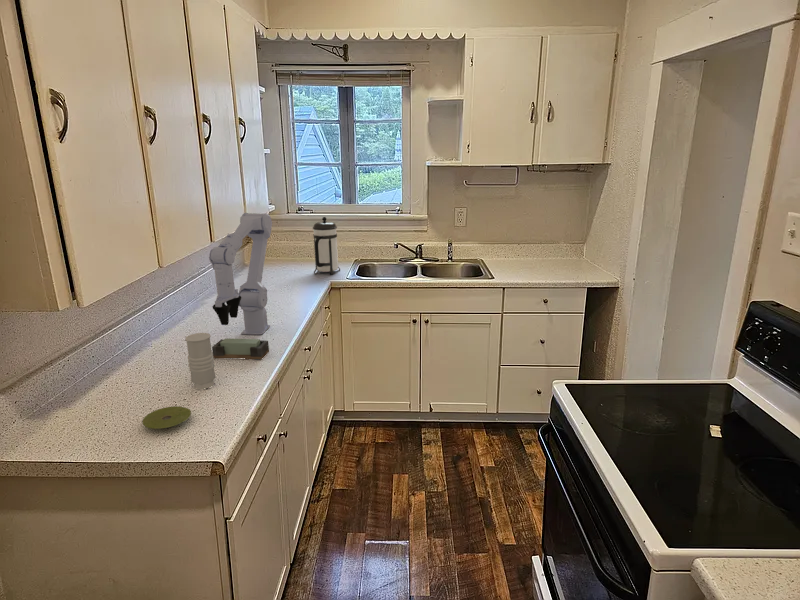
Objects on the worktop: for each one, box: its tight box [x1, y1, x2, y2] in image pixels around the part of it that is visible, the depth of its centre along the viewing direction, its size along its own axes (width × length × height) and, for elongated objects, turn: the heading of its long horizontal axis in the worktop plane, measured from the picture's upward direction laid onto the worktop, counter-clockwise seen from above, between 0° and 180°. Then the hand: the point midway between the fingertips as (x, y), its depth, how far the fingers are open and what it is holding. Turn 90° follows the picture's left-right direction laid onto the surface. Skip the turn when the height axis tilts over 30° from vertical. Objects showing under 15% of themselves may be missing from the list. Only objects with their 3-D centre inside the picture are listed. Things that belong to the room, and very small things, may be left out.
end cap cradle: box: [211, 339, 270, 360], centre depth 175 cm, size 7×16×4 cm, turn 84°
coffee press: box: [312, 216, 341, 276], centre depth 282 cm, size 17×16×30 cm
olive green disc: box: [142, 405, 192, 430], centre depth 133 cm, size 11×11×2 cm
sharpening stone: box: [220, 337, 261, 355], centre depth 175 cm, size 4×12×4 cm, turn 84°
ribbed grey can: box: [184, 332, 217, 390], centre depth 152 cm, size 7×7×15 cm
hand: (229, 320), depth 181 cm, fingers open, 7 cm apart
